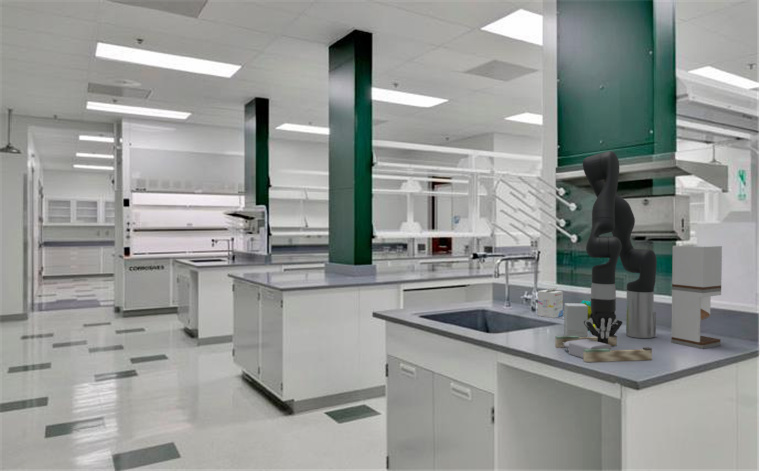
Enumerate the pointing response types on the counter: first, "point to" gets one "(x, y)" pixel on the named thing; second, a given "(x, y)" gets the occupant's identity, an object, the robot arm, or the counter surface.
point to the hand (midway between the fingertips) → (602, 348)
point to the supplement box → (575, 319)
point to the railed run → (606, 350)
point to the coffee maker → (694, 292)
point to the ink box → (550, 303)
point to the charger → (584, 346)
